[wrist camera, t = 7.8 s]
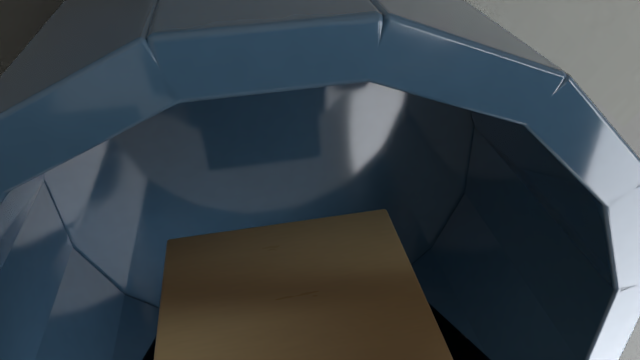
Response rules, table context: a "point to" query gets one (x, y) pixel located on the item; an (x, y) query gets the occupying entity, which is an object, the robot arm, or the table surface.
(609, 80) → the table surface
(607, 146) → the bowl
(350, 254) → the block
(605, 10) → the table surface
